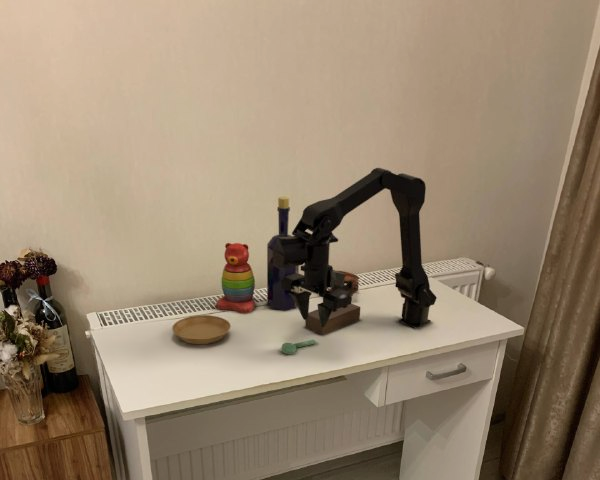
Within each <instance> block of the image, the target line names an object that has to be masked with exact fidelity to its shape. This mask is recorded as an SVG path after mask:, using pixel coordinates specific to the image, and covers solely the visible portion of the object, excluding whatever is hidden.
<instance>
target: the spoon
mask: <svg viewBox="0 0 600 480" xmlns="http://www.w3.org/2000/svg"><path fill="white" fill-rule="evenodd" d="M315 344H316V340H315V339H310V340H305V341H300V342H295V343H291V342H284V343H283V344H282V345H281V347H280V350H281V351H282V352H283V353H284V354H286V355H293V354H295V353H296V350H297V348H302V347H307V346H311V345H315Z"/></svg>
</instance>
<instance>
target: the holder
mask: <svg viewBox="0 0 600 480" xmlns="http://www.w3.org/2000/svg"><path fill="white" fill-rule="evenodd" d="M360 318H361V306H360V305H357V304H354V303H352V302H351V304H349V305H347V306H344V307H341V308H339V309H333V311H332V313H331V315H330V317H329V319H328V322H327V324H326V326H325V327H323V328H322V327H321V325H320V319H319V312H318V308H317V309H315V310H312V311H309V312H308V319H306V320H304V328H305V329H308V330H309V331H312V332H314V333H316V334H319V335H321V336H324V335H326V334H329V333H332V332H334V331H337V330H339V329H341V328H345V327H346V326H350V325H351V324H354V323H357V322H359V321H360V320H361V319H360Z"/></svg>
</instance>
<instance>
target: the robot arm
mask: <svg viewBox="0 0 600 480" xmlns="http://www.w3.org/2000/svg"><path fill="white" fill-rule="evenodd" d="M384 190H389V192H390V196H391V200H392V203H393V205H394V207H395V209H396V211H397V212H398V218H399V219H398V220H399V233H400V248H401V262H402V263H401V264H402V266H401V268H400V270H399V272H396V273H395V274H394V278H395V285H394V287H395V288H397V291H398V292H399V294H400V297H401V298H403V299H404V300H403V302H402V308H401V318H399V319H398V322H399V323H402V324H404V325H407V326H409V327H413V328H415V329H419V328H421V327H424V326H426V325H428V324H430V323H432V322H431V321H432V320H431V319H429V313H430V308H431V306H434V305H435V304H436V301H437V298H438V297H437V295H436V294H435V293H434V292H433V291H432V290H431V286H430V285H431V284H430V280H429V276H428V273H427V272H426V271H425V268H424V266H423V263H422V261H423V260H422V259H423V258H422V241H421V239H422V238H421V222H420V221H421V219H420V211H421V209H422V208H423V205H424V204H425V201H426V190H427V186H426V182H425V181H424V180H423V179H422V178H420V177H418V176H413V175H410V174H407V173H403V172H402V173H401V172H400V173H398V174H396V173H394V172H392V171H390V170H389V169H385V168H383V167H376V168H372V170H371V171H370V173H368V174H366V175H365V176H363V177H362V178H360V179H359V180H357V181H356V182H354V183H353V184H352V185H350V186H348V187H347V188H345V189H343V190H342V191H341V192H339V193H338V194H336V195H334V196H332V197H331V198H326V199H322V200H319V201H316V202H313V203H312V204H309V205H307V206H306V207H305V208H304V209H303V210H302V214H301V218H300V219H299V221H298V223H297V224H296V225H295V227H294V229H293V231H292V232H291V235H292V236H290V237H278V238H277V243H276V244H275V245H274V249H273V252H272V253H273V260H274V263H275V265H276V266H277V267H278V268H280V269H281V268H287V267H293V266H299V267H300V271H302V272H303V274H301V273H295V274H292V275H288V276H285V277H284V278H283V279H282V281H281V288H282V289H285V290H287V291H290V290H291V291H290V292H289V294H290V295H291V296H292V298H293V300H294V301H295V303H296V305H297V307H296V308H297V309H298V311H299V313H300V315H301V317H302V319H303V321H305V320H306V319H308V313H309V312H310V299H311V295H312V294H313V295H316V296H318V297H320V298H322V301H321V302H320V303H317V305H316V306H317V309H318V312H319V319H320V325H321V327H322V328H323V327H325V326H326V324H327V322H328V319H329V317H330V315H331V313H332V311H333V309H339V308H341V307H344V306H347V305H349V304H351V303H352V298H353V296H352V295H351V294H350V293H349V292H346V291H344V290H341V289H336V290H333V291H328V289H331V288H332V287H334V285H339V286H341V287H342V286H343V283H344V279H345V276H346V274H344V273H341V272H338V271H339V270H335V269H334V267H333V265H330V250H331V249H330V248H331V247H330V245H331V244H332V243H333V244H334V243H338V242H339V238H338V237H337V236H336V235H334V233H333V231H334V230H336V229H337V228H338V227H339V226H340V225H341V223H342V222H343V220H344V218H345V217H346V216H347V215H348V214H350V213H351V212H352V211H353V210H355V209H357V208H358V207H360V206H361V205H363V204H364V203H366V202H367V201H369V200H370V199H372V198H373V197H375V196H376V195H377V194H380V193H381V192H382V191H384ZM308 231H310V232H312V233H310V232H308ZM344 284H345V283H344Z"/></svg>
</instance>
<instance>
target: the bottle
mask: <svg viewBox="0 0 600 480" xmlns="http://www.w3.org/2000/svg"><path fill="white" fill-rule="evenodd" d="M277 201H278V202H277V203H278V204H277V205H278V206H277V212H278V213H277V214H278V215H277V216H278V217H277V218H278V233H277V234H274V235H272V237H271V238H270V240H269V241H268V242H267V244H266V248H267V249H266V253H267V254H266V257H267V258H266V268H267V269H266V281H267V282H266V283H267V285H266V290H267V291H266V294H267V295H266V296H267V297H266V306H267V307H269V308H270V309H272V310H275V311H291V310H294V309H296V308H298V307H297V305H296V303H295V301H294V300H293V298H292V296H291V295H290V294H289V292H290V291H291V290H290V291H287V290H285V289H282V288H281V281H282V279H283V278H284V277H285V276H288V275H292V274H295V273H299V271H300V269H299V268H300V265H299V266H293V267H287V268H281V269H280V268H278V267H277V266H276V265H275V263H274V260H273V253H272V252H273V249H274V245H275V244H276V243H277V238H278V237H290V236H293V235H292V234H289V219H290V211H291V207H290V197H288V196H278V200H277ZM299 274H300V273H299Z"/></svg>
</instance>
